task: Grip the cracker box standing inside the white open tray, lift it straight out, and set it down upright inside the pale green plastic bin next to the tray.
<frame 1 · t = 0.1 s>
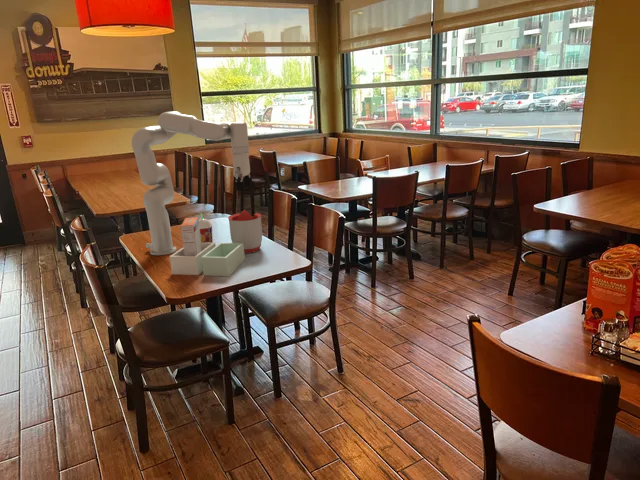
hand: (244, 188, 212), 31 cm above the table, tool pointing down, fingers open, 9 cm apart
citrus juicer: (248, 249, 227), on the table
cracker box: (195, 266, 207), resting in white open tray
bin: (225, 267, 204), on the table
smoothie: (206, 253, 225), on the table
white open tray: (195, 266, 207), on the table
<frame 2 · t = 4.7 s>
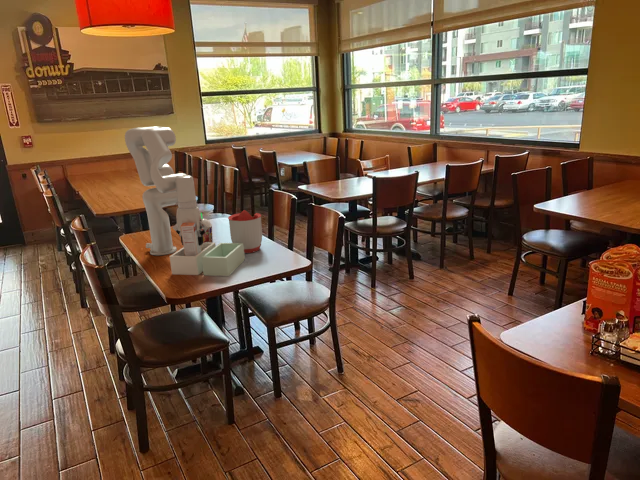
hand: (192, 244, 204), 10 cm above the table, tool pointing down, fingers closed on cracker box, 7 cm apart
cracker box: (195, 266, 207), resting in white open tray, touching gripper
everything else where it was.
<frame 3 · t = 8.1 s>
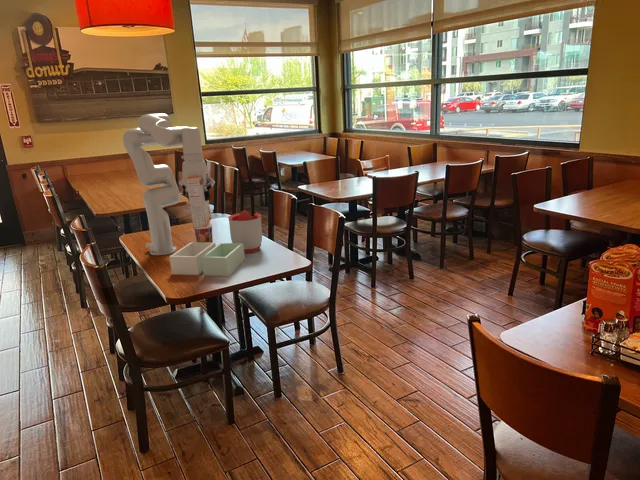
hand: (199, 200, 197), 30 cm above the table, tool pointing down, fingers closed on cracker box, 6 cm apart
cracker box: (202, 224, 200), point 19 cm above the table, touching gripper
everything else where it was.
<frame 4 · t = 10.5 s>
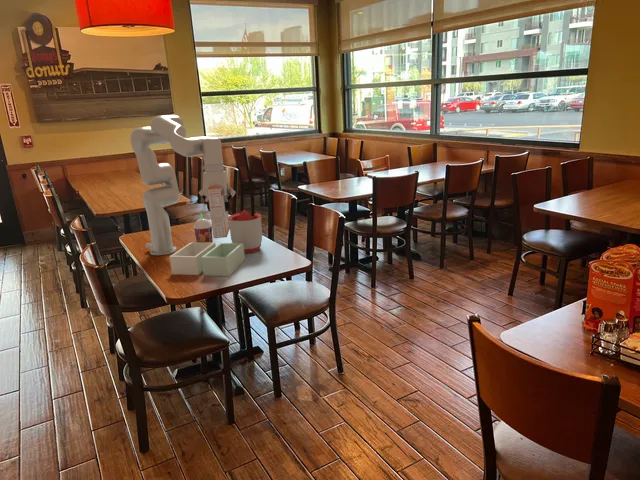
hand: (218, 210, 197), 26 cm above the table, tool pointing down, fingers closed on cracker box, 6 cm apart
cracker box: (221, 234, 200), point 15 cm above the table, touching gripper
everything else where it was.
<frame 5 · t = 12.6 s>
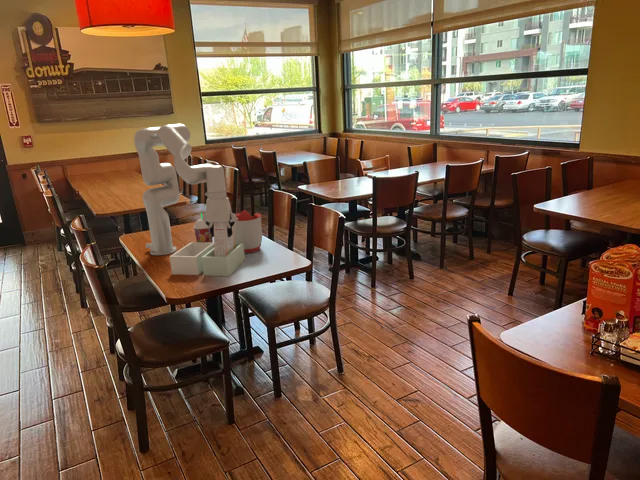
hand: (222, 236, 200), 14 cm above the table, tool pointing down
cracker box: (225, 261, 203), point 3 cm above the table, touching gripper
everything else where it was.
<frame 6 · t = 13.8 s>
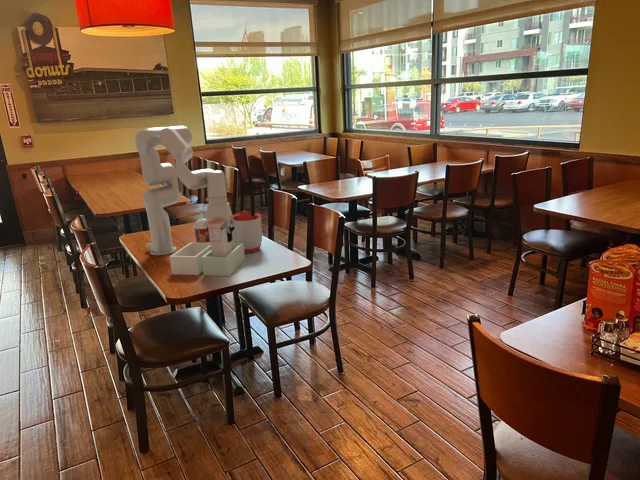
hand: (222, 241, 201), 12 cm above the table, tool pointing down, fingers closed on cracker box, 6 cm apart
cracker box: (225, 265, 203), point 1 cm above the table, touching bin, gripper
everything else where it was.
when the fingers open (12 cm above the table, at t = 13.9 s): cracker box stays where it is, resting on bin.
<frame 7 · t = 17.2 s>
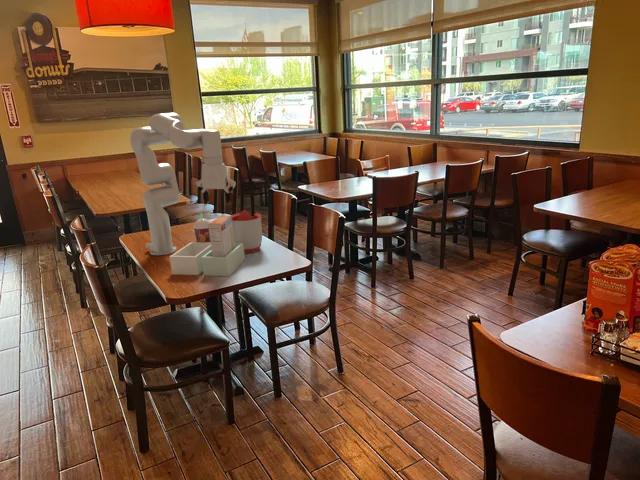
hand: (217, 201, 196), 29 cm above the table, tool pointing down, fingers open, 9 cm apart
cracker box: (225, 265, 203), point 1 cm above the table, touching bin
everything else where it was.
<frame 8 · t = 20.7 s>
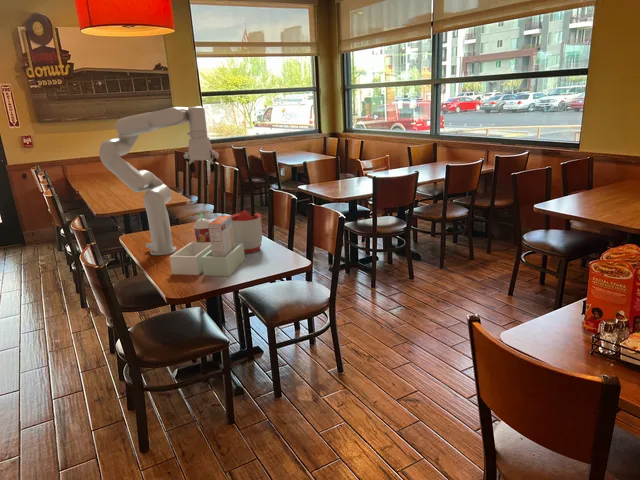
hand: (203, 172, 218), 38 cm above the table, tool pointing down, fingers open, 9 cm apart
nothing on the table moved.
at the end: cracker box 0.6 cm off-centre on the bin, point 0.8 cm above the bin's base; cracker box tilted 0°; the gripper is holding nothing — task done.
